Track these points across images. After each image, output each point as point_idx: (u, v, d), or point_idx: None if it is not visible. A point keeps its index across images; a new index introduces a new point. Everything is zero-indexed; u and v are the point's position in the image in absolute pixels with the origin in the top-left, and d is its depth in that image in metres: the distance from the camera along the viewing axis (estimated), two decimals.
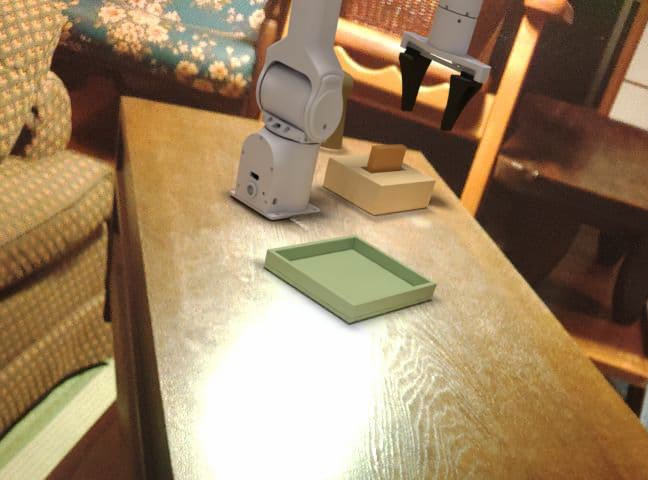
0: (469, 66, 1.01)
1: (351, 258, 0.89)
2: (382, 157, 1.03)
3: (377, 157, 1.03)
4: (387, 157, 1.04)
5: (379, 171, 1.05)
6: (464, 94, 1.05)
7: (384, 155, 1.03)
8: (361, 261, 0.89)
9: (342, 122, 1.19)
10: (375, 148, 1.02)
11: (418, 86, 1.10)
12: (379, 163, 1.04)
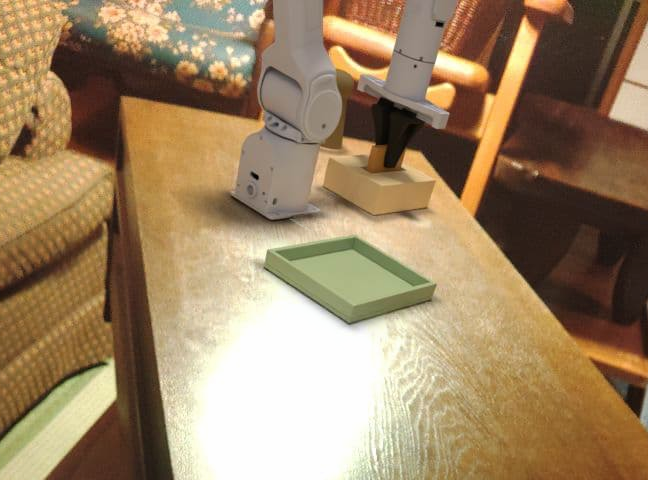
0: (426, 112, 0.97)
1: (351, 258, 0.89)
2: (382, 157, 1.03)
3: (377, 157, 1.03)
4: None
5: (379, 171, 1.05)
6: (407, 131, 1.03)
7: (383, 155, 1.03)
8: (361, 261, 0.89)
9: (342, 122, 1.19)
10: (375, 148, 1.02)
11: None
12: (379, 163, 1.04)
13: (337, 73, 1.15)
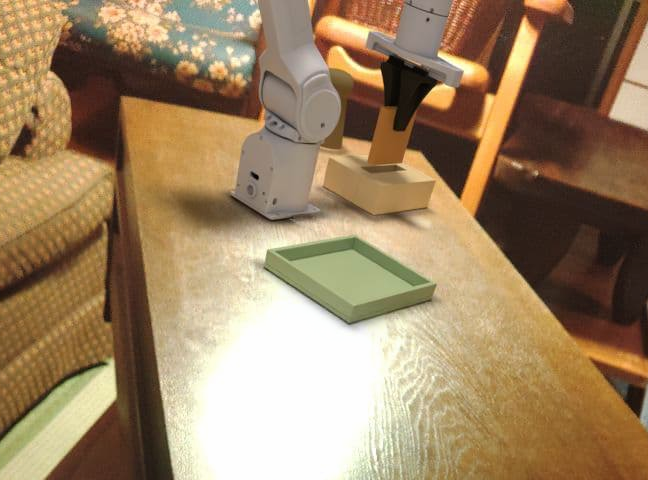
0: (439, 69, 0.92)
1: (351, 258, 0.89)
2: (391, 119, 0.98)
3: (386, 119, 0.97)
4: None
5: (388, 134, 0.99)
6: (418, 91, 0.97)
7: (393, 117, 0.98)
8: (361, 261, 0.89)
9: (342, 122, 1.19)
10: (384, 109, 0.96)
11: None
12: (388, 125, 0.98)
13: (337, 73, 1.15)
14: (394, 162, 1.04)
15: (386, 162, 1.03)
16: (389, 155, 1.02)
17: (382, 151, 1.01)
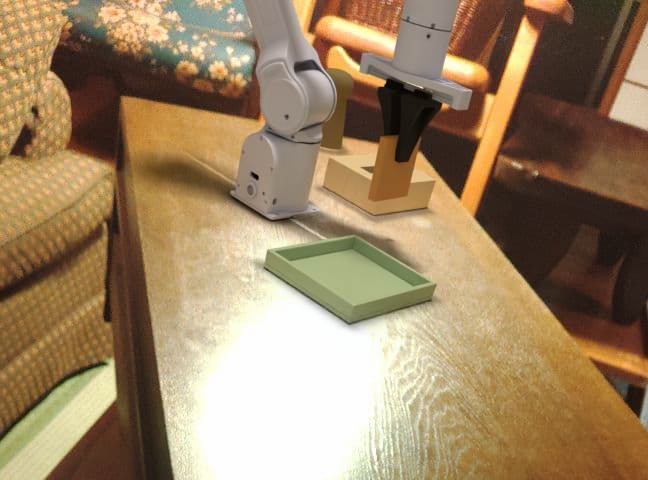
0: (445, 91, 0.81)
1: (351, 258, 0.89)
2: (393, 149, 0.87)
3: (387, 150, 0.86)
4: None
5: (390, 166, 0.88)
6: (421, 117, 0.86)
7: (395, 147, 0.87)
8: (361, 261, 0.89)
9: (342, 122, 1.19)
10: (384, 139, 0.85)
11: None
12: (390, 156, 0.87)
13: (337, 73, 1.15)
14: (398, 196, 0.93)
15: (389, 197, 0.91)
16: (392, 189, 0.91)
17: (384, 185, 0.89)
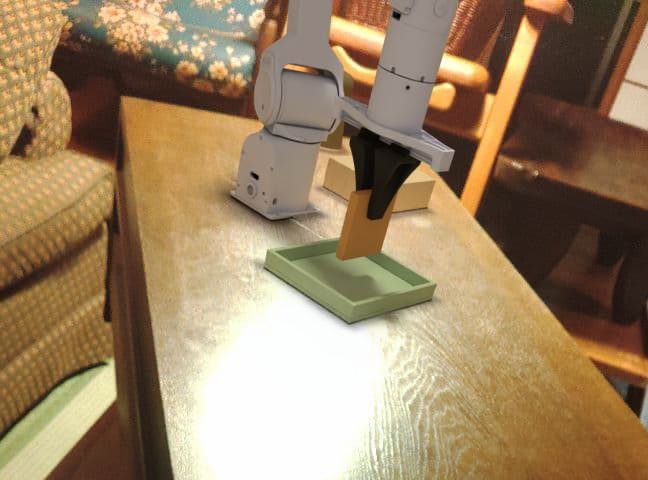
0: (423, 150, 0.71)
1: None
2: (365, 206, 0.78)
3: (358, 206, 0.77)
4: None
5: (361, 223, 0.79)
6: (397, 172, 0.77)
7: (367, 203, 0.78)
8: (361, 261, 0.89)
9: (342, 122, 1.19)
10: (355, 195, 0.76)
11: None
12: (361, 213, 0.78)
13: None
14: (370, 253, 0.84)
15: (360, 255, 0.82)
16: (363, 247, 0.82)
17: (354, 243, 0.80)
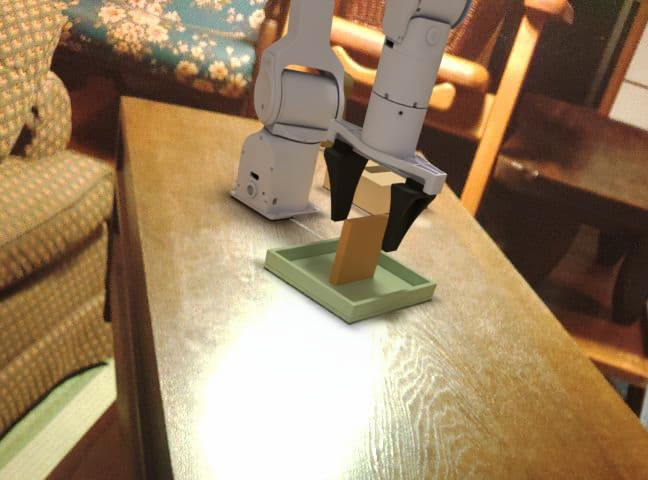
0: (416, 173, 0.73)
1: None
2: (358, 233, 0.80)
3: (351, 234, 0.79)
4: (365, 233, 0.81)
5: (354, 250, 0.81)
6: (412, 205, 0.77)
7: (360, 230, 0.80)
8: None
9: None
10: (348, 223, 0.78)
11: (353, 189, 0.81)
12: (354, 240, 0.80)
13: None
14: (363, 277, 0.85)
15: (353, 279, 0.84)
16: (357, 271, 0.84)
17: (347, 269, 0.82)
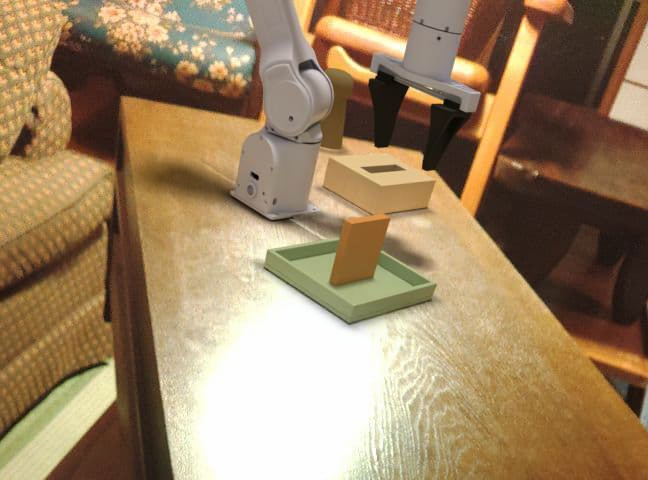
0: (453, 93, 0.82)
1: None
2: (358, 233, 0.80)
3: (351, 234, 0.79)
4: (365, 233, 0.81)
5: (354, 250, 0.81)
6: (449, 126, 0.86)
7: (360, 230, 0.80)
8: None
9: (342, 122, 1.19)
10: (348, 223, 0.78)
11: (394, 117, 0.90)
12: (354, 240, 0.80)
13: (337, 73, 1.15)
14: (363, 277, 0.85)
15: (353, 279, 0.84)
16: (357, 271, 0.84)
17: (347, 269, 0.82)
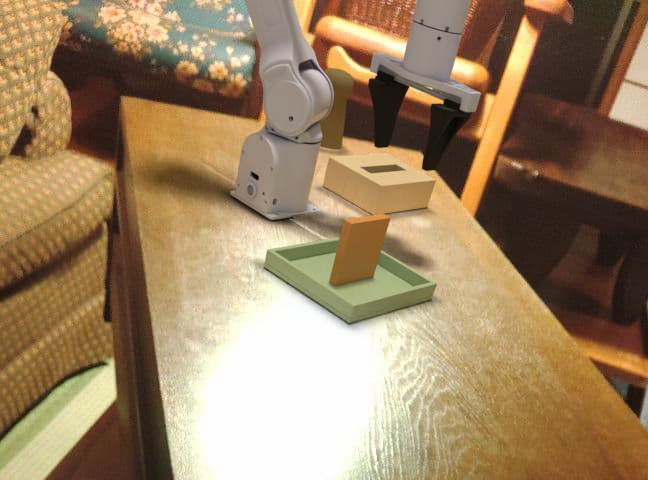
0: (454, 93, 0.82)
1: None
2: (358, 233, 0.80)
3: (351, 234, 0.79)
4: (365, 233, 0.81)
5: (354, 250, 0.81)
6: (449, 126, 0.86)
7: (360, 230, 0.80)
8: None
9: (342, 122, 1.19)
10: (348, 223, 0.78)
11: (394, 117, 0.90)
12: (354, 240, 0.80)
13: (337, 73, 1.15)
14: (363, 277, 0.85)
15: (353, 279, 0.84)
16: (357, 271, 0.84)
17: (347, 269, 0.82)
